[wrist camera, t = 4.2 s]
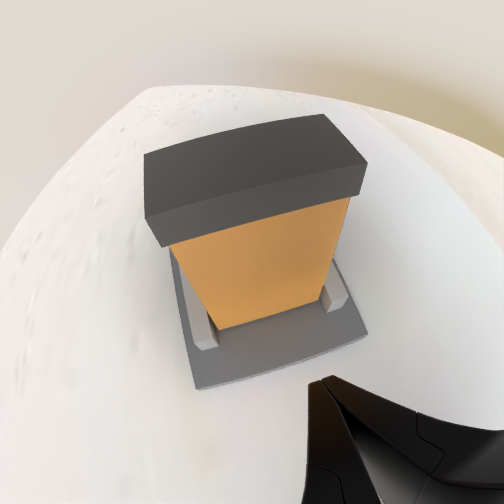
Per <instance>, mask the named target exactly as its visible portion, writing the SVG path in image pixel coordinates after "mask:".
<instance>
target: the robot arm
mask: <svg viewBox="0 0 504 504" xmlns="http://www.w3.org/2000/svg"><path fill="white" fill-rule="evenodd" d="M376 492H377V493H378V495H379V496H380V498H381V499H382V501H383V502H384V504H504V430H486V429H480V428H474V427H469V426H464V425H459V424H454V423H450V422H446V421H442V420H439V419H436V418H433V417H430V416H427V415H424V414H422V413H419V412H417V413H416V411H414V410H411V409H409V408H406V407H404V406H401V405H399V404H397V403H394V402H392V401H389V400H387V399H385V398H382V397H380V396H378V395H376V394H373V393H371V392H369V391H366V390H364V389H362V388H360V387H358V386H355V385H353V384H351V383H349V382H347V381H345V380H343V379H340V378H338V377H336V376H334V375H331V376H328V377H326V378H323V379H322V380H321V381H320V380H318V381H315V382H312V383H310V384H309V385H308V440H307V464H306V479H305V488H304V493H303V498H302V502H301V504H381V502H380V500H379V497H378V495H377V493H376Z"/></svg>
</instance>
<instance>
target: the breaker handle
mask: <svg viewBox="0 0 504 504" xmlns="http://www.w3.org/2000/svg"><path fill="white" fill-rule="evenodd" d="M367 164H368V163H367V161H366V160H365V159H364V158H363V157H362V155H361V154H360V153H359V152H358V151H357V150H356V148H355V147H354V146H353V145H352V144H351V143H350V142H349V140H348V139H347V138H346V137H345V136H344V135H343V134H342V133H341V132H340V131H339V130H338V128H337V127H336V126H335V125H334V124H333V123H332V122H331V121H330V120H329V119H328V118H327V117H326V116H325V115H324V114H318V115H310V116H303V117H296V118H290V119H284V120H278V121H272V122H266V123H261V124H256V125H251V126H246V127H242V128H237V129H233V130H228V131H224V132H220V133H216V134H212V135H208V136H204V137H200V138H196V139H193V140H189V141H185V142H182V143H179V144H175V145H172V146H169V147H165V148H162V149H159V150H156V151H153V152H150V153H147V154H144V210H145V219H146V221H147V223H148V225H149V227H150V228H151V230H152V232H153V234H154V235H155V237H156V239H157V240H158V242H159V244H160V246H161V247H166V246H169V247H170V249H171V250H172V252H173V254H174V256H175V258H176V259H177V261H178V263H179V265H180V266H181V268H182V270H183V272H184V273H185V275H186V277H187V279H188V280H189V282H190V284H191V285H192V287H193V289H194V290H195V292H196V294H197V295H198V297H199V299H200V300H201V302H202V304H203V305H204V307H205V309H206V310H207V312H208V314H209V315H210V317H211V318H212V320H213V322H214V323H215V325H216V326H217V328H218V330H222V329H225V328H229V327H233V326H236V325H240V324H243V323H247V322H250V321H254V320H257V319H260V318H264V317H267V316H270V315H273V314H277V313H280V312H283V311H286V310H289V309H292V308H296V307H299V306H302V305H305V304H308V303H311V302H314V301H317V300H318V299H319V296H320V293H321V290H322V287H323V285H324V282H325V279H326V276H327V273H328V270H329V267H330V264H331V261H332V258H333V255H334V251H335V248H336V245H337V242H338V239H339V235H340V232H341V229H342V225H343V222H344V219H345V215H346V212H347V208H348V205H349V201H350V197H352V196H356V195H359V192H360V189H361V185H362V182H363V178H364V175H365V171H366V168H367Z"/></svg>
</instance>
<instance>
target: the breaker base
mask: <svg viewBox="0 0 504 504" xmlns="http://www.w3.org/2000/svg"><path fill="white" fill-rule="evenodd" d="M169 250H170V258H171V265H172V271H173V278H174V284H175V290H176V296H177V302H178V307H179V313H180V318H181V323H182V328H183V333H184V338H185V343H186V348H187V352H188V357H189V361H190V366H191V370H192V374H193V378H194V383H195V387H196V389H197V390H204V389H208V388H213V387H217V386H221V385H225V384H229V383H233V382H237V381H241V380H244V379H248V378H252V377H255V376H259V375H262V374H265V373H269V372H272V371H275V370H278V369H282V368H285V367H288V366H291V365H294V364H297V363H300V362H303V361H306V360H308V359H311V358H314V357H317V356H320V355H322V354H325V353H328V352H330V351H333V350H335V349H338V348H340V347H343V346H346V345H348V344H350V343H353V342H355V341H358V340H360V339H362V338H364V337H365V336H367V335H368V332H367V330H366V328H365V325H364V323H363V321H362V319H361V316H360V314H359V312H358V310H357V307H356V305H355V303H354V301H353V299H352V297H351V294H350V292H349V290H348V288H347V286H346V284H345V282H344V280H343V277H342V275H341V273H340V271H339V269H338V267H337V265H336V263H335V261H334V259H333V258H332V261H331V264H330V267H329V270H328V273H327V276H326V279H325V282H324V285H323V287H322V290H321V293H320V296H319V299H318V300H317V301H314V302H311V303H308V304H305V305H302V306H299V307H296V308H292V309H289V310H286V311H283V312H280V313H277V314H273V315H270V316H267V317H264V318H260V319H257V320H254V321H250V322H247V323H243V324H240V325H236V326H233V327H229V328H225V329H222V330H218V328H217V326H216V325H215V323H214V322H213V320H212V318H211V317H210V315H209V314H208V312H207V310H206V309H205V307H204V305H203V304H202V302H201V300H200V299H199V297H198V295H197V294H196V292H195V290H194V289H193V287H192V285H191V284H190V282H189V280H188V279H187V277H186V275H185V273H184V272H183V270H182V268H181V266H180V265H179V263H178V261H177V259H176V258H175V256H174V254H173V252H172V250H171V249H170V247H169Z"/></svg>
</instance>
